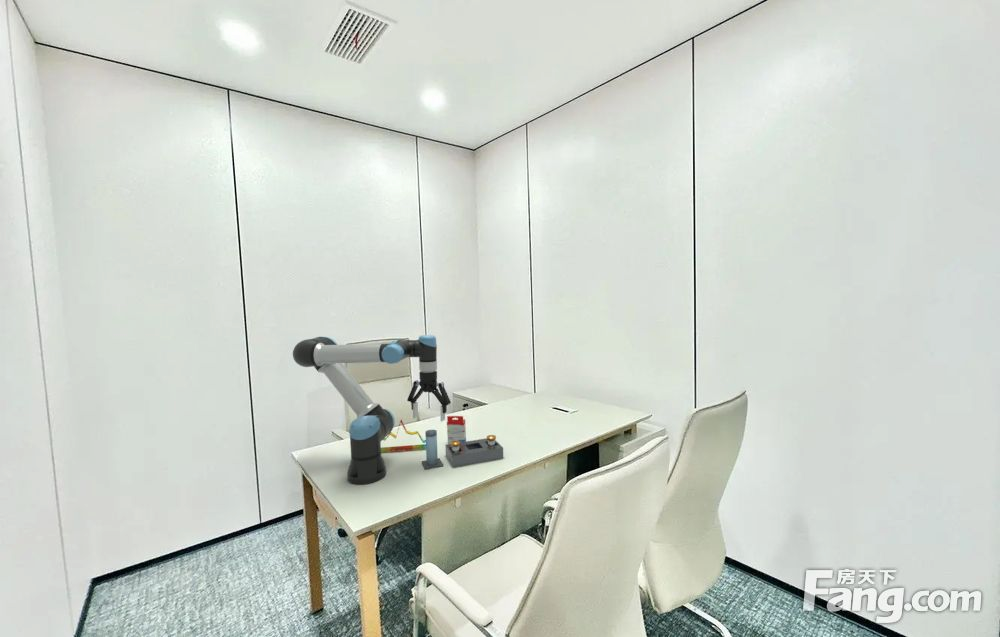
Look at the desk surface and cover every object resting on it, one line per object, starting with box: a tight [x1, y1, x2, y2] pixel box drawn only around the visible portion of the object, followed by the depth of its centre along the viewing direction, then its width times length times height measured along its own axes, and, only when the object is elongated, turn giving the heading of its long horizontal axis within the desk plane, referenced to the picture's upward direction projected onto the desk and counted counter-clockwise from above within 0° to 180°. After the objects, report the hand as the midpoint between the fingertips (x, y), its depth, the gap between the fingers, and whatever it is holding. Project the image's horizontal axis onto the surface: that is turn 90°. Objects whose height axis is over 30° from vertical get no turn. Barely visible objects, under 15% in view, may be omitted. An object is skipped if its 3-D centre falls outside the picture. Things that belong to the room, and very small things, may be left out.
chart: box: [381, 419, 426, 454], centre depth 186 cm, size 30×3×15 cm, turn 98°
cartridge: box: [424, 429, 439, 465], centre depth 170 cm, size 5×5×14 cm
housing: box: [444, 437, 504, 468], centre depth 177 cm, size 23×14×5 cm, turn 111°
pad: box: [421, 457, 444, 470], centre depth 170 cm, size 8×8×1 cm
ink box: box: [446, 415, 467, 445], centre depth 193 cm, size 8×5×15 cm, turn 84°
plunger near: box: [451, 441, 460, 453], centre depth 174 cm, size 4×4×8 cm
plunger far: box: [486, 434, 497, 446], centre depth 180 cm, size 4×4×8 cm
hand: (429, 418), depth 171 cm, fingers open, 13 cm apart
